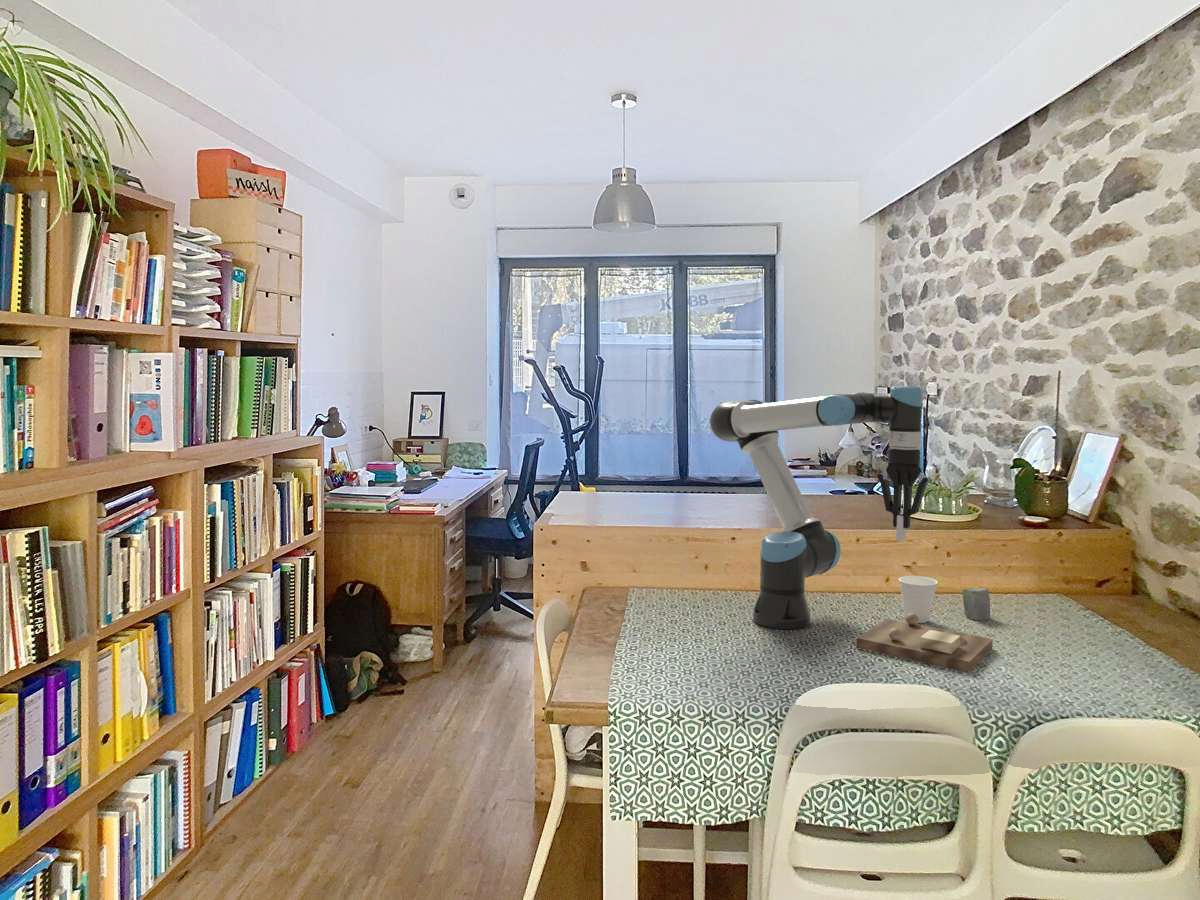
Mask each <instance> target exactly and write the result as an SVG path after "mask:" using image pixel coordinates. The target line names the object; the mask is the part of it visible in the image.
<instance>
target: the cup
mask: <svg viewBox="0 0 1200 900" xmlns="http://www.w3.org/2000/svg"><path fill="white" fill-rule="evenodd" d="M898 581H899V585H900V594H901V600H902V601H901V602H902V606H903V607H902V609H903V615H904V619H905V620H906V617H907V615H908V614H910V613H914V614H916V615H917V616H918V619H919V620H918V623H917V624H924V623H928V621H929V620H930V618H931V612H932V606H933V604H934V598H935V594H936V589H937V585H938V584H939V581H937V580H936V579H934V578H932V577H931V578H930V577H928V576H927V577H926V576H920V575H906V576H905V575H904V576H901V577H899V578H898Z"/></svg>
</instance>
